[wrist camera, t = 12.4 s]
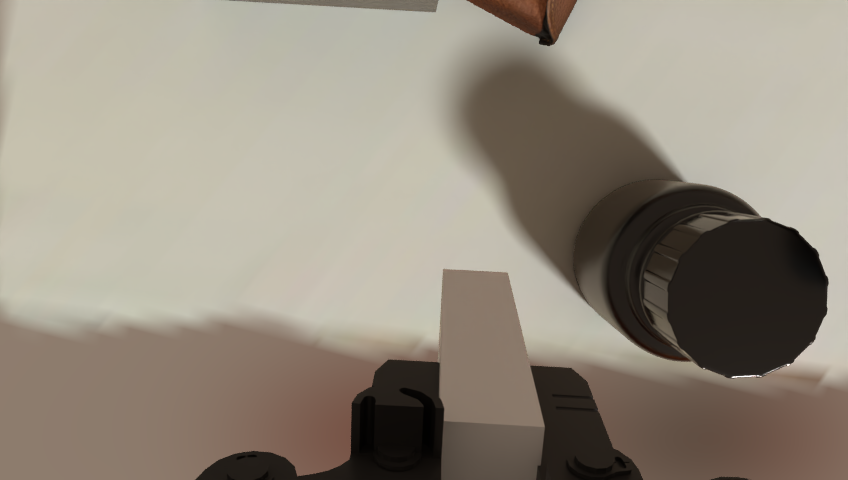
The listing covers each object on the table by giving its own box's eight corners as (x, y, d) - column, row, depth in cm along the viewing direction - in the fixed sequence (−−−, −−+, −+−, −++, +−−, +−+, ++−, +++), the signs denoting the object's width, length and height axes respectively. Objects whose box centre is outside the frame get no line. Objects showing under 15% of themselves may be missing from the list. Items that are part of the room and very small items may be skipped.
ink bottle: (630, 364, 41) (721, 451, 29) (534, 254, 40) (589, 298, 28) (758, 257, 41) (904, 301, 29) (664, 142, 40) (776, 139, 28)
